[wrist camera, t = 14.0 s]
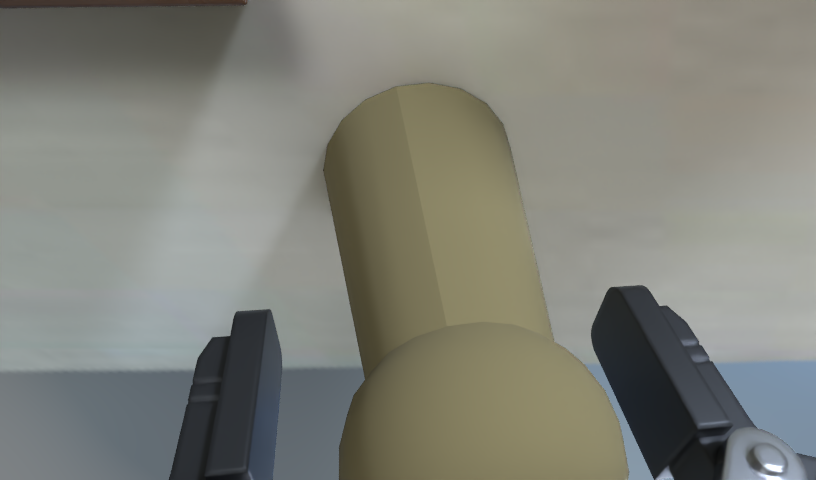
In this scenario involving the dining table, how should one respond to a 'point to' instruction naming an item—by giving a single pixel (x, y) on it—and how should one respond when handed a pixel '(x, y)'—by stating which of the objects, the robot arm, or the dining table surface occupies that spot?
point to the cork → (453, 305)
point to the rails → (115, 3)
